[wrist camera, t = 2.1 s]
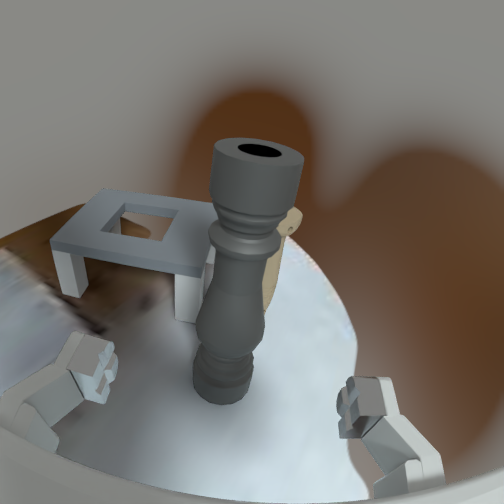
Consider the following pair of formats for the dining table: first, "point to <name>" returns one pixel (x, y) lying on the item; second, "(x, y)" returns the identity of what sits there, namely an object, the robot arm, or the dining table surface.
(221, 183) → the candle holder
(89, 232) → the hole stand
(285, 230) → the handle
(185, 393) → the dining table surface
